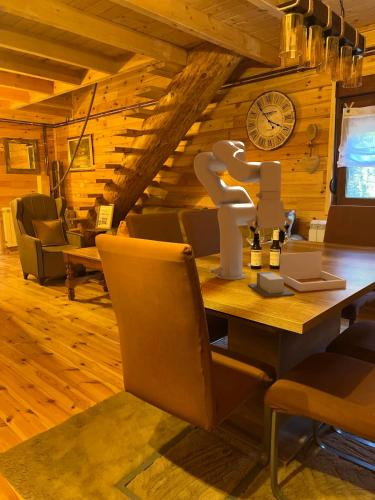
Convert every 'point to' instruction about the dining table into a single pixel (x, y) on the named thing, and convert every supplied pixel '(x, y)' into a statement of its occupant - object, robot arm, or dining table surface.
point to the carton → (307, 272)
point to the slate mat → (266, 294)
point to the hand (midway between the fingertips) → (269, 243)
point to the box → (270, 282)
